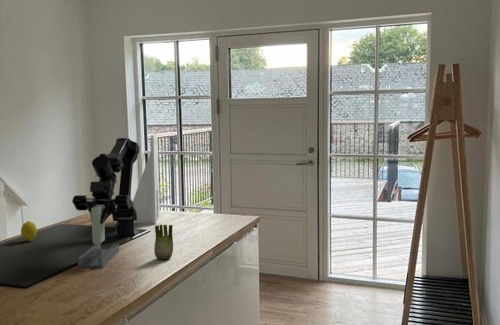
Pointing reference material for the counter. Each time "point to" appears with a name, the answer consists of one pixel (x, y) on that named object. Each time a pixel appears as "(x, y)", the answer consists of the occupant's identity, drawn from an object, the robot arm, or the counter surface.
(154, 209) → the white bracket plate
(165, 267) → the counter surface
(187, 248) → the counter surface
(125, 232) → the robot arm
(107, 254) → the track
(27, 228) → the lemon
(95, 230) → the door panel
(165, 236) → the fennel bulb
